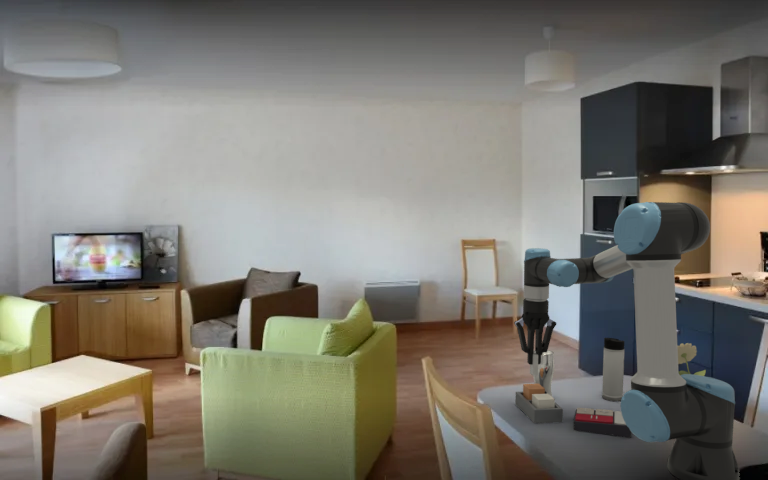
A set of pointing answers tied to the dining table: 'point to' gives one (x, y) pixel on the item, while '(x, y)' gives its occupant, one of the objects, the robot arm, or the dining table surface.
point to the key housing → (538, 411)
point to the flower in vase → (687, 357)
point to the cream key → (543, 401)
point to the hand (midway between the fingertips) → (533, 374)
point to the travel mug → (613, 369)
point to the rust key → (532, 390)
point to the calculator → (601, 422)
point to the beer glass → (545, 371)
